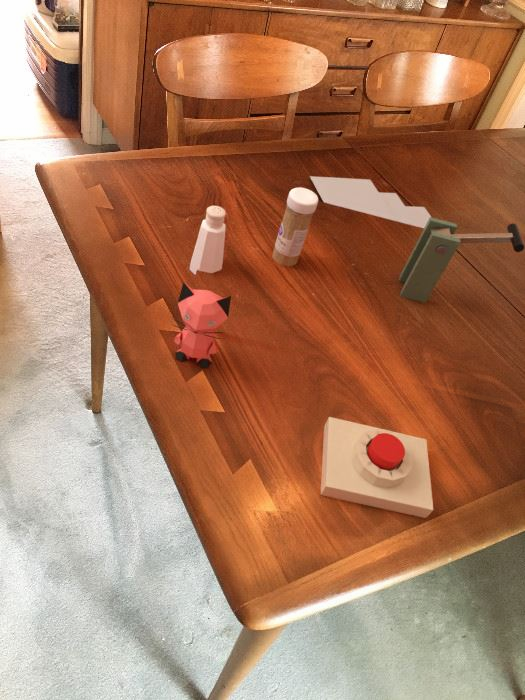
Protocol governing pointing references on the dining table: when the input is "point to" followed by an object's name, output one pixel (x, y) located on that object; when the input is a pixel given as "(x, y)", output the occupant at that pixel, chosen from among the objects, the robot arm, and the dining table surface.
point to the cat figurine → (200, 323)
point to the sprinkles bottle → (294, 226)
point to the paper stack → (368, 200)
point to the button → (386, 451)
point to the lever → (488, 237)
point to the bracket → (428, 260)
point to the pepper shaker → (210, 242)
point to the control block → (374, 470)
